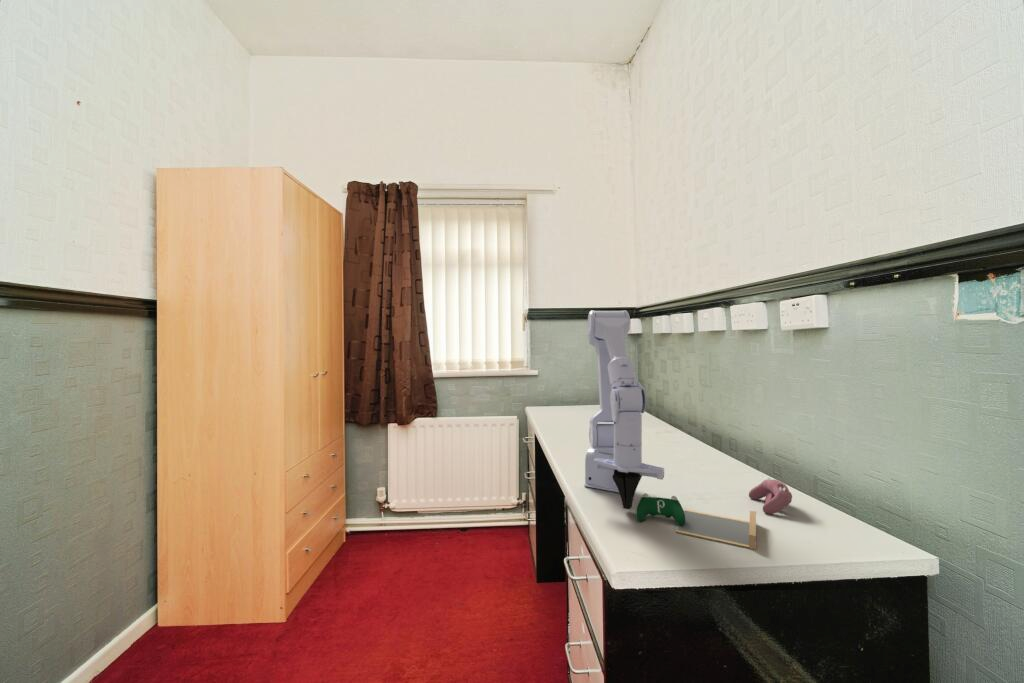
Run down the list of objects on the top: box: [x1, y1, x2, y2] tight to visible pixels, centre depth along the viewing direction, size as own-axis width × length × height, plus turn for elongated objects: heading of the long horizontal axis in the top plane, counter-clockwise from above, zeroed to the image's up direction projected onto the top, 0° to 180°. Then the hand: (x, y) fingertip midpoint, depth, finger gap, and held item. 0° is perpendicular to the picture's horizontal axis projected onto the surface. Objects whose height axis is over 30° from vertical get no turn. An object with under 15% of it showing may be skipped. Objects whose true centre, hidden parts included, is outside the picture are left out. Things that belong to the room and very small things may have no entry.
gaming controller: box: [635, 492, 685, 526], centre depth 86 cm, size 9×4×6 cm
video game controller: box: [748, 477, 793, 515], centre depth 92 cm, size 10×5×7 cm, turn 169°
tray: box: [676, 509, 757, 550], centre depth 81 cm, size 13×12×2 cm
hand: (627, 507), depth 89 cm, fingers closed
